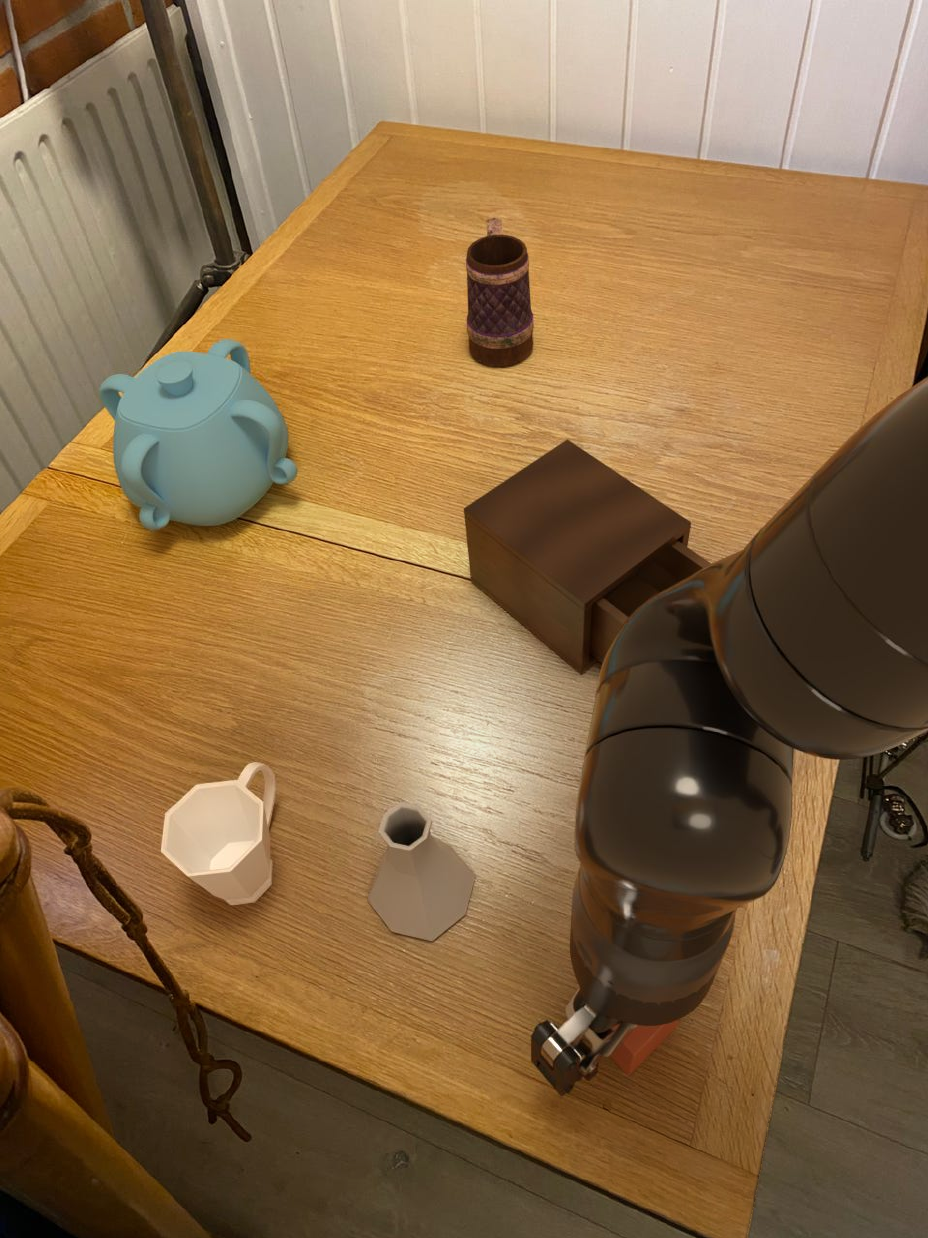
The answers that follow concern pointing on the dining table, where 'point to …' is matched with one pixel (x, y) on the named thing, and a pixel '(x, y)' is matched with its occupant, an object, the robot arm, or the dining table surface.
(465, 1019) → the dining table surface
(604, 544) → the cabinet
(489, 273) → the mug
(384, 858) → the flask
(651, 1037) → the block
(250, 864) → the cup
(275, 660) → the dining table surface
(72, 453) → the dining table surface
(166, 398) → the decorative pot
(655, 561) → the drawer
